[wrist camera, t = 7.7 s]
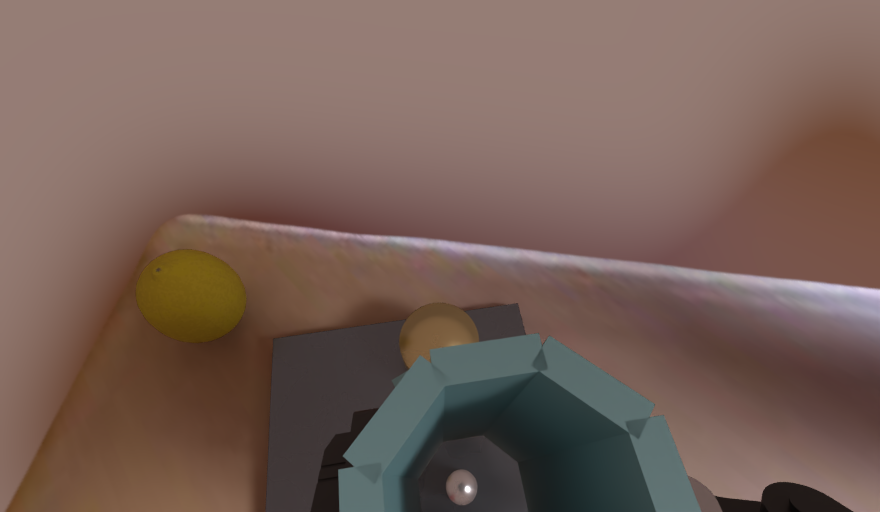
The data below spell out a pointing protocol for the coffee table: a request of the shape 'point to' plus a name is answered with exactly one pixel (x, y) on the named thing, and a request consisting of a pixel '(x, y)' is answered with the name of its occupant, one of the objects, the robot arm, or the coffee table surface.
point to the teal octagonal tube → (520, 431)
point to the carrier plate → (367, 387)
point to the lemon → (191, 296)
